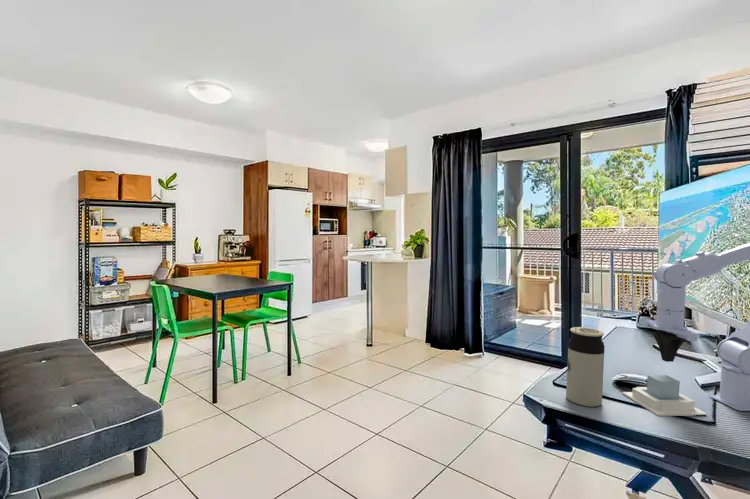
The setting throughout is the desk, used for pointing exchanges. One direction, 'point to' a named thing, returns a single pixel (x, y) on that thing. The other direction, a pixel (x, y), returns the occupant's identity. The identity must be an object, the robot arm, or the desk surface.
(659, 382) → the plug block
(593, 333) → the travel mug
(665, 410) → the socket plate
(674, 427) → the desk surface
